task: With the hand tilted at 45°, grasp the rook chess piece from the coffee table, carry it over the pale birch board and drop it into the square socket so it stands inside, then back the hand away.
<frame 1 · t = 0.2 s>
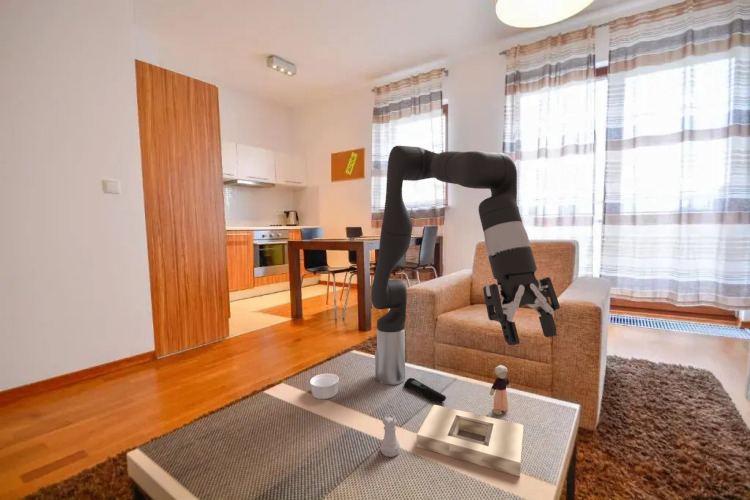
hand: (532, 340, 58), 31 cm above the table, tool tilted 20°, fingers open, 8 cm apart
ramekin: (325, 393, 104), on the table
rook chess piece: (390, 452, 76), on the table
grandmother figurine: (501, 410, 92), on the table
electric trimmer: (424, 395, 102), on the table
socket board: (471, 441, 79), on the table
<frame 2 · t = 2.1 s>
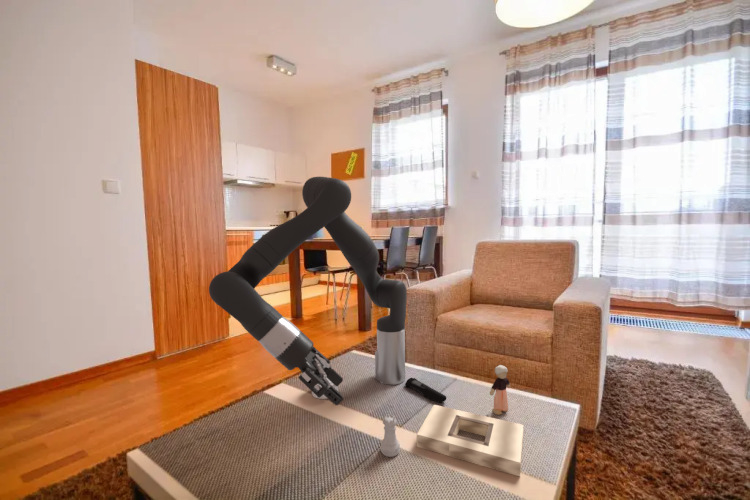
hand: (340, 391, 74), 15 cm above the table, tool tilted 45°, fingers open, 8 cm apart
nothing on the table moved.
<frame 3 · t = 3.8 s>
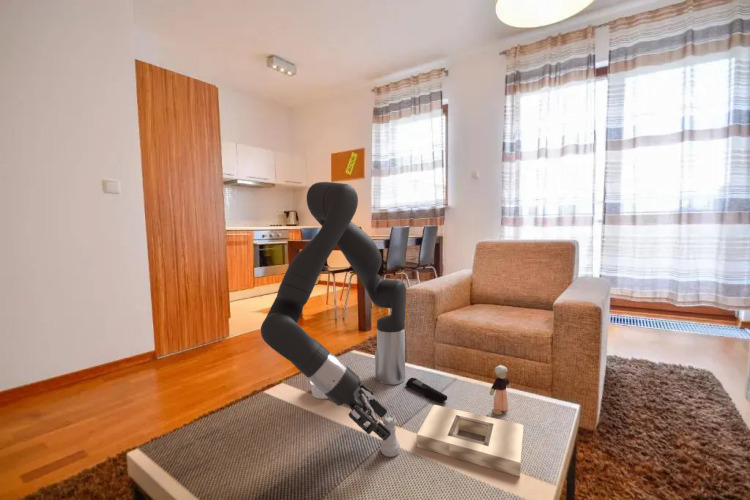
hand: (386, 424, 76), 6 cm above the table, tool tilted 45°, fingers open, 8 cm apart
nothing on the table moved.
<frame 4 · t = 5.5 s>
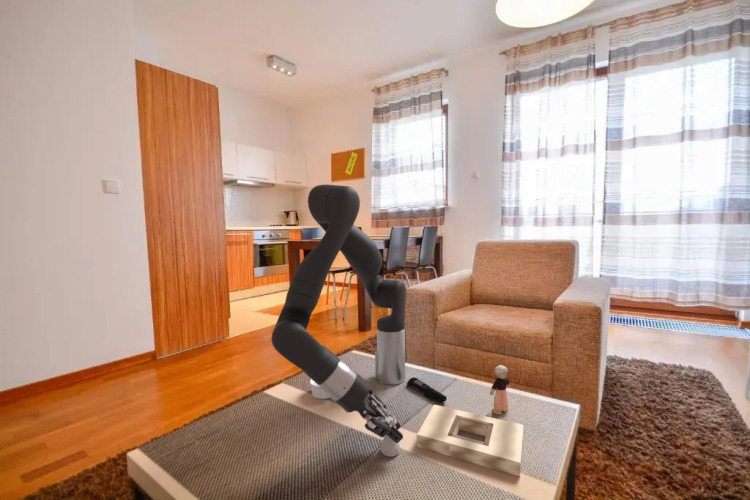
hand: (398, 433, 76), 4 cm above the table, tool tilted 45°, fingers closed on rook chess piece, 3 cm apart
rook chess piece: (390, 451, 76), on the table, touching gripper
everything else where it was.
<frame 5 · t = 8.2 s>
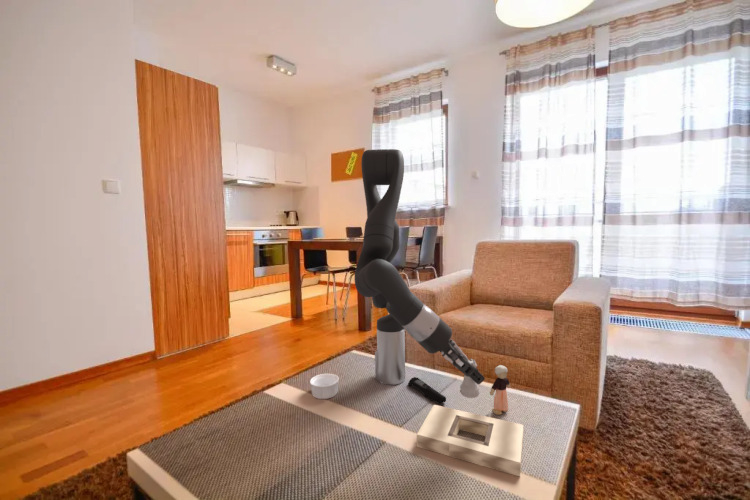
hand: (478, 376, 78), 16 cm above the table, tool tilted 45°, fingers closed on rook chess piece, 3 cm apart
rook chess piece: (469, 394, 78), point 12 cm above the table, touching gripper
everything else where it was.
when the fingers open (7 cm above the table, at t = 11.0 s): rook chess piece drops 3 cm, resting in socket board.
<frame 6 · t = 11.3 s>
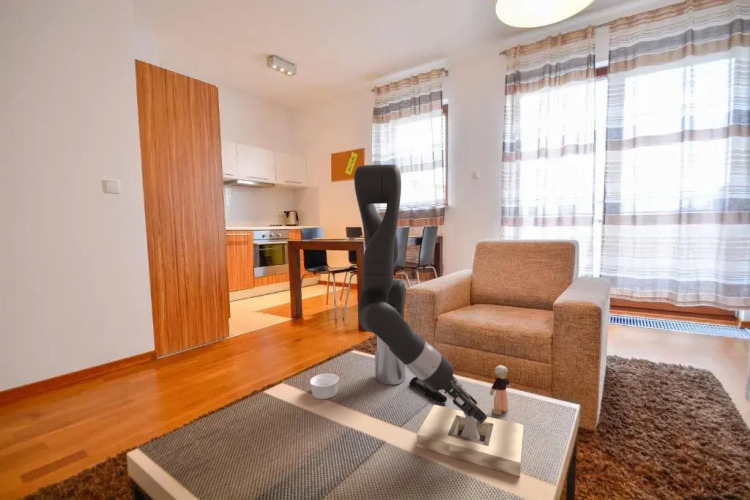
hand: (478, 411, 79), 7 cm above the table, tool tilted 45°, fingers open, 5 cm apart
rook chess piece: (470, 442, 79), resting in socket board
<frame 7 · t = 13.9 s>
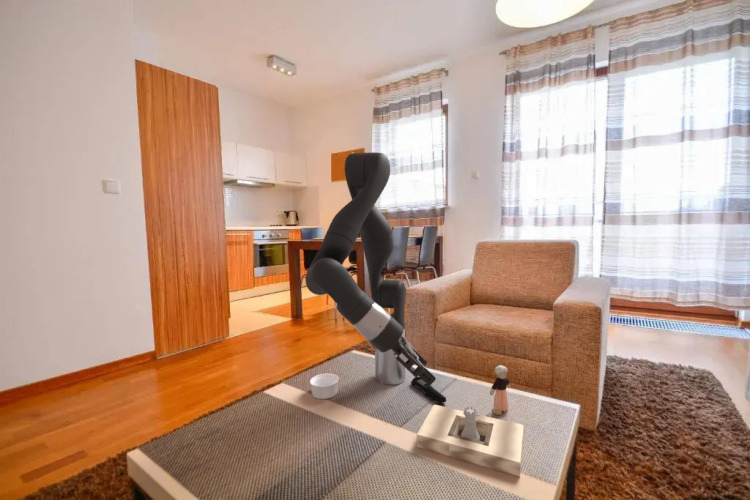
hand: (428, 373, 77), 17 cm above the table, tool tilted 45°, fingers open, 8 cm apart
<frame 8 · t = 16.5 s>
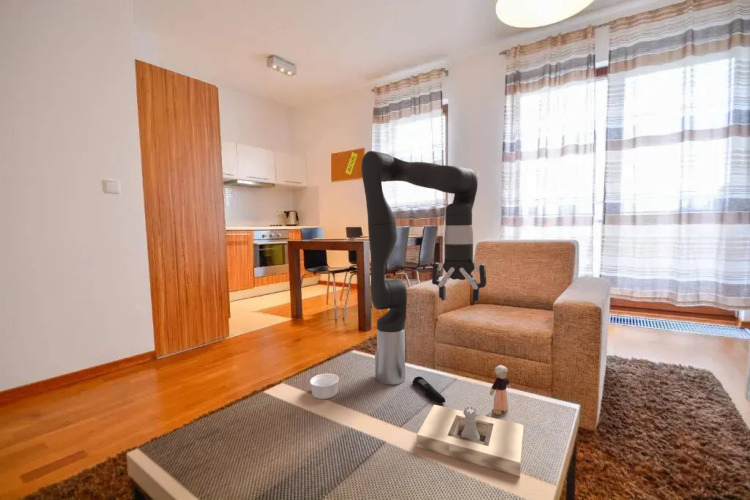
hand: (458, 301, 92), 30 cm above the table, tool pointing down, fingers open, 8 cm apart
at the end: rook chess piece 0.2 cm off-centre on the socket board, point 0.0 cm above the socket board's base; rook chess piece tilted 0°; the gripper is holding nothing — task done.
